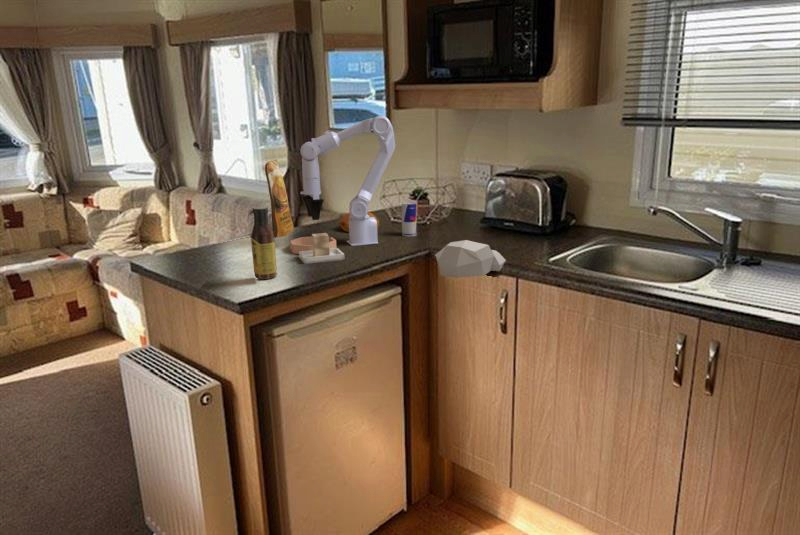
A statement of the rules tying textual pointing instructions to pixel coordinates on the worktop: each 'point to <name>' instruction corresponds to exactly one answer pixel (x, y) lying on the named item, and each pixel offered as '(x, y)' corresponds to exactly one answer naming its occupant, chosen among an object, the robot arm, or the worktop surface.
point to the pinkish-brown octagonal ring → (307, 244)
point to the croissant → (345, 221)
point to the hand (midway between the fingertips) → (313, 218)
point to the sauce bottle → (263, 245)
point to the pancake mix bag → (278, 200)
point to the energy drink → (409, 219)
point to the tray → (309, 258)
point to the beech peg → (320, 244)
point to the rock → (468, 259)
